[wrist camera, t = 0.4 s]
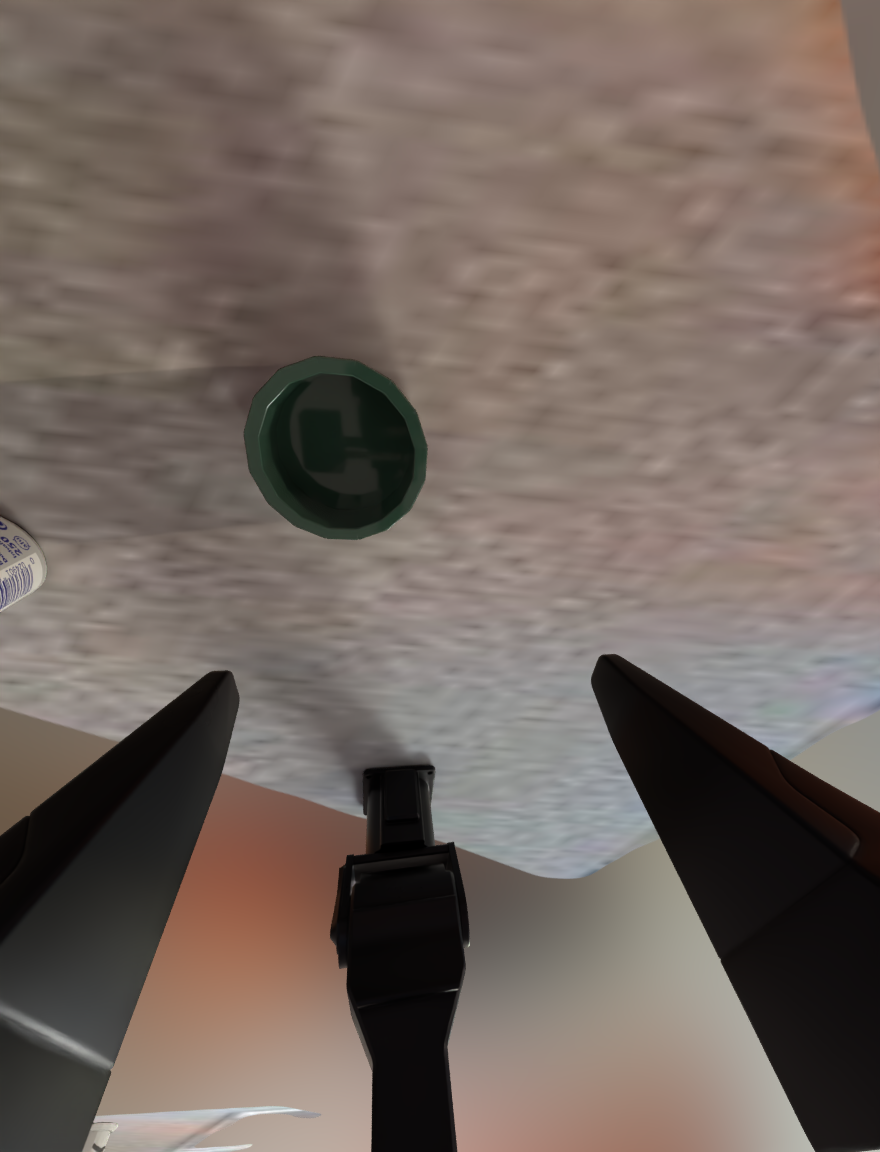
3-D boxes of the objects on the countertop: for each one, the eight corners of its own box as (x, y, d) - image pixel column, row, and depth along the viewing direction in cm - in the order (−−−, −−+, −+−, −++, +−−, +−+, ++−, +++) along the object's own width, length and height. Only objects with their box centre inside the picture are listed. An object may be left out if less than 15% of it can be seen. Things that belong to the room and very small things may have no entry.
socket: (414, 516, 22) (420, 542, 19) (278, 510, 21) (258, 537, 18) (424, 369, 19) (433, 368, 15) (260, 351, 17) (230, 345, 14)
